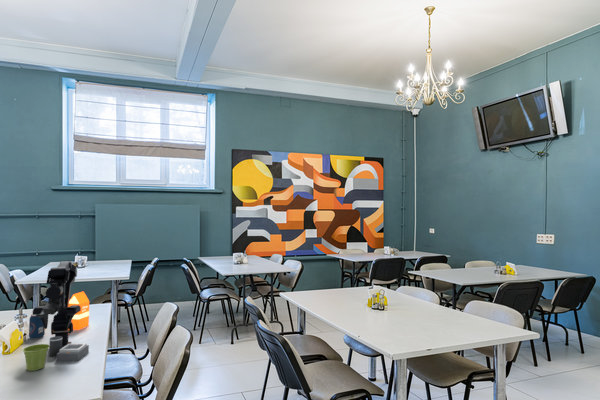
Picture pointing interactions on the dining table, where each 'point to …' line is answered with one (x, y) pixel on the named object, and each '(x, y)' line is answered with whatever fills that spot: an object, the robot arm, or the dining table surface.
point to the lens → (55, 345)
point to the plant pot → (35, 356)
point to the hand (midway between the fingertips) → (56, 328)
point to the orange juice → (81, 317)
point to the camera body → (72, 352)
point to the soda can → (36, 327)
